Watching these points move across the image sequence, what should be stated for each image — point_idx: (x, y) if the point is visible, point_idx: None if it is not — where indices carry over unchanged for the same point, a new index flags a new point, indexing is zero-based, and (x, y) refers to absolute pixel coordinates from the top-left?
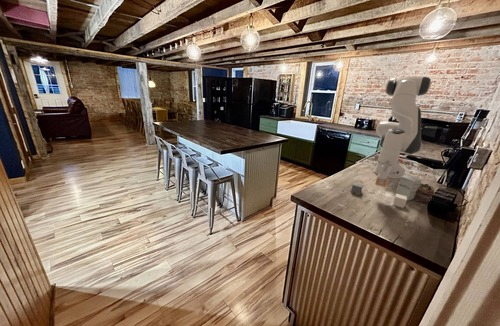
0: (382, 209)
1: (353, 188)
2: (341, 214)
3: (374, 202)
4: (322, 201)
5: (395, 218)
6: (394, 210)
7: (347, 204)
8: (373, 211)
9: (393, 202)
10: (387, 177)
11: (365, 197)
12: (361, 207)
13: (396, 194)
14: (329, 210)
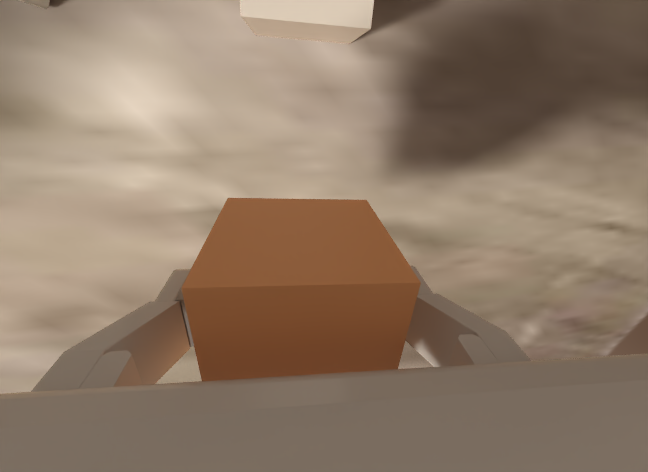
0: (494, 133)
1: None
2: (624, 311)
3: (401, 194)
4: None
5: (613, 30)
6: (471, 33)
7: (510, 312)
8: (548, 188)
9: (326, 39)
10: (307, 298)
11: None
12: (518, 253)
13: (276, 11)
14: (598, 351)
